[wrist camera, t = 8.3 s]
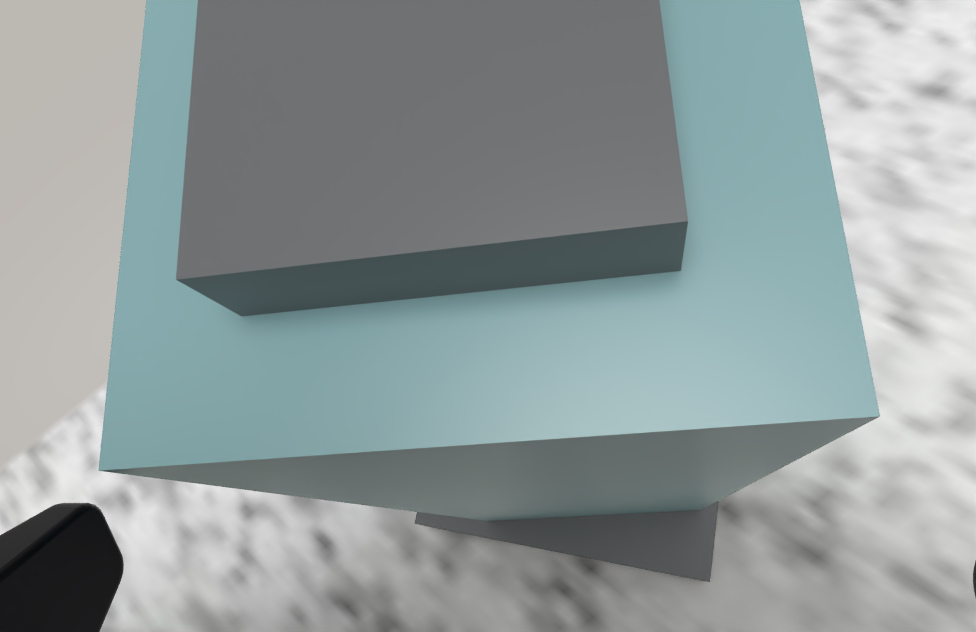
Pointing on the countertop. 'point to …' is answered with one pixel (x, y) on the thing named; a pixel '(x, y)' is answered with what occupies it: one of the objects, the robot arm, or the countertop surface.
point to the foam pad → (609, 537)
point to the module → (481, 255)
